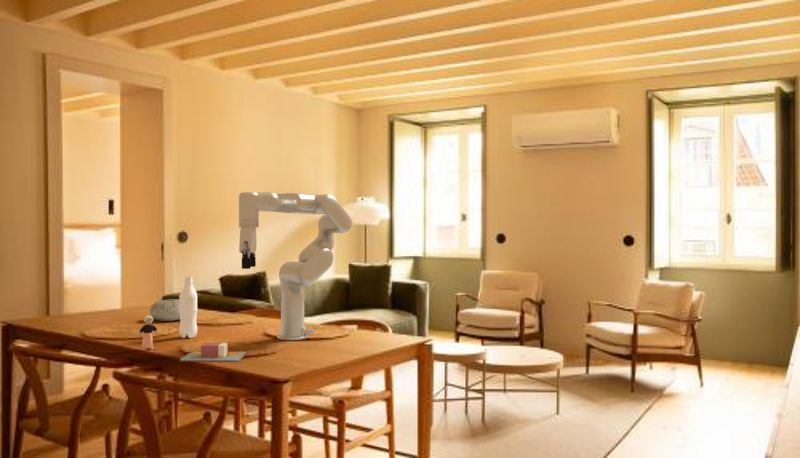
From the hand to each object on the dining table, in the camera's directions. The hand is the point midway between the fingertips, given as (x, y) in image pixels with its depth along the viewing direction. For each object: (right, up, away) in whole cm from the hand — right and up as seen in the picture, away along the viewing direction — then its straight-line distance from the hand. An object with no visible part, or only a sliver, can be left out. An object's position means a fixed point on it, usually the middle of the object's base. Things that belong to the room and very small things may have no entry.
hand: (248, 267), depth 251 cm
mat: (-7, -30, -23) cm, 38 cm away
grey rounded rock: (-52, -29, +60) cm, 85 cm away
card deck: (-7, -30, -23) cm, 38 cm away
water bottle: (-29, -30, +15) cm, 44 cm away
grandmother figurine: (-35, -30, -10) cm, 47 cm away
